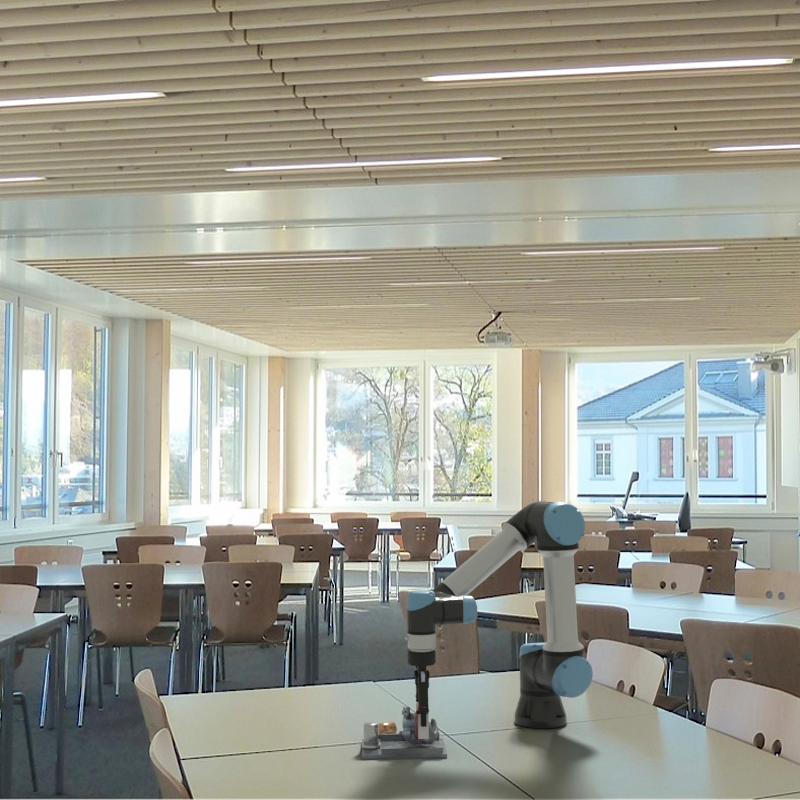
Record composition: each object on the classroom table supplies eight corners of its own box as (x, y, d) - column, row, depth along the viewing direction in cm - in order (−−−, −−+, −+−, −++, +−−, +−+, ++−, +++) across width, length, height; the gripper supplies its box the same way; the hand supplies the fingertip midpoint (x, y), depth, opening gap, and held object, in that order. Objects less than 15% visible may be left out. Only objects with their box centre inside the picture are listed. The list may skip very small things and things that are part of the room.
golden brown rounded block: (389, 732, 306) (390, 719, 305) (396, 736, 303) (397, 724, 302) (371, 735, 303) (372, 722, 302) (377, 739, 299) (378, 726, 299)
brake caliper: (441, 738, 280) (413, 699, 282) (408, 762, 282) (381, 723, 284) (450, 727, 291) (423, 690, 293) (419, 751, 293) (392, 714, 295)
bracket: (442, 741, 295) (442, 715, 295) (447, 757, 279) (446, 730, 280) (361, 743, 294) (361, 717, 295) (361, 759, 278) (361, 731, 279)
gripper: (405, 642, 300) (406, 722, 299) (409, 657, 277) (410, 744, 275) (432, 641, 300) (433, 722, 299) (438, 657, 277) (439, 744, 276)
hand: (422, 733), depth 287 cm, fingers closed on brake caliper, 11 cm apart
